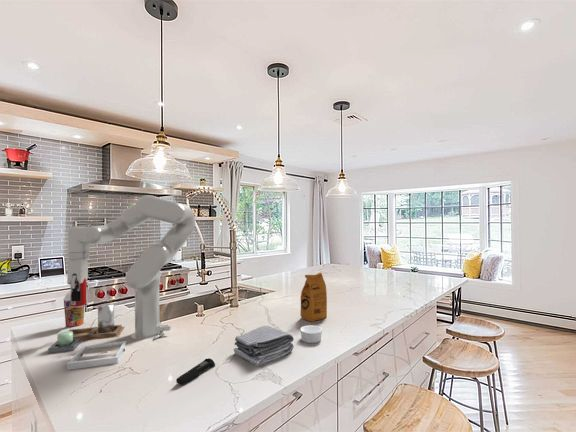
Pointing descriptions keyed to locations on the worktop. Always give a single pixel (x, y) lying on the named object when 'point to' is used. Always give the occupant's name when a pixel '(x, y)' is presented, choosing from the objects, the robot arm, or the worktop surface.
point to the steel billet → (106, 318)
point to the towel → (263, 345)
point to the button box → (72, 347)
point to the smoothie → (73, 313)
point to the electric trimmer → (195, 371)
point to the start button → (65, 338)
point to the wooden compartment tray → (96, 333)
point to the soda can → (83, 295)
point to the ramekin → (311, 334)
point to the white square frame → (96, 362)
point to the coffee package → (314, 298)
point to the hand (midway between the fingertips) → (78, 298)
